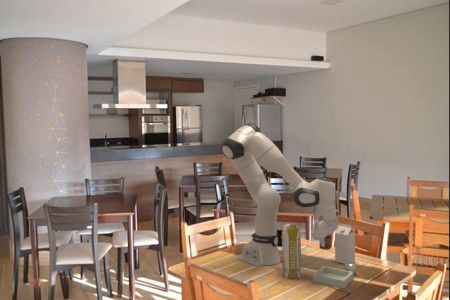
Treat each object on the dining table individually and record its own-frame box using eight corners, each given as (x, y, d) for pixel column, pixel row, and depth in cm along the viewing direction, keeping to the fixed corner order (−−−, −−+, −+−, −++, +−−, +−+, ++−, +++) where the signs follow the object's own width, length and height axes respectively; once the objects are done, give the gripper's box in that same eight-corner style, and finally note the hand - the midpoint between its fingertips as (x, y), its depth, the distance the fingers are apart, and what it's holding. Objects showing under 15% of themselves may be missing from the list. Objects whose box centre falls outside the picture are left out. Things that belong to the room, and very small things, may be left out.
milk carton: (342, 258, 205) (342, 222, 204) (355, 261, 200) (354, 224, 199) (335, 261, 200) (334, 224, 199) (348, 265, 195) (347, 227, 194)
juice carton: (282, 271, 188) (281, 222, 187) (298, 271, 188) (298, 221, 186) (284, 279, 179) (283, 227, 177) (302, 279, 179) (301, 226, 177)
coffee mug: (273, 247, 226) (272, 229, 226) (273, 242, 235) (273, 226, 234) (293, 247, 224) (293, 230, 224) (293, 243, 233) (293, 226, 232)
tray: (313, 281, 176) (313, 274, 176) (323, 272, 186) (323, 265, 186) (344, 288, 168) (344, 280, 168) (353, 279, 177) (353, 271, 177)
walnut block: (328, 250, 175) (328, 238, 175) (319, 248, 178) (319, 237, 177) (331, 247, 178) (331, 236, 178) (323, 246, 181) (323, 235, 180)
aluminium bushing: (344, 274, 183) (344, 264, 182) (347, 271, 186) (347, 261, 186) (353, 276, 180) (353, 266, 180) (357, 273, 184) (357, 263, 183)
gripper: (322, 220, 167) (323, 252, 168) (340, 210, 183) (340, 240, 184) (308, 218, 170) (309, 249, 171) (327, 209, 187) (327, 238, 188)
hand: (325, 244), depth 178 cm, fingers closed on walnut block, 4 cm apart
